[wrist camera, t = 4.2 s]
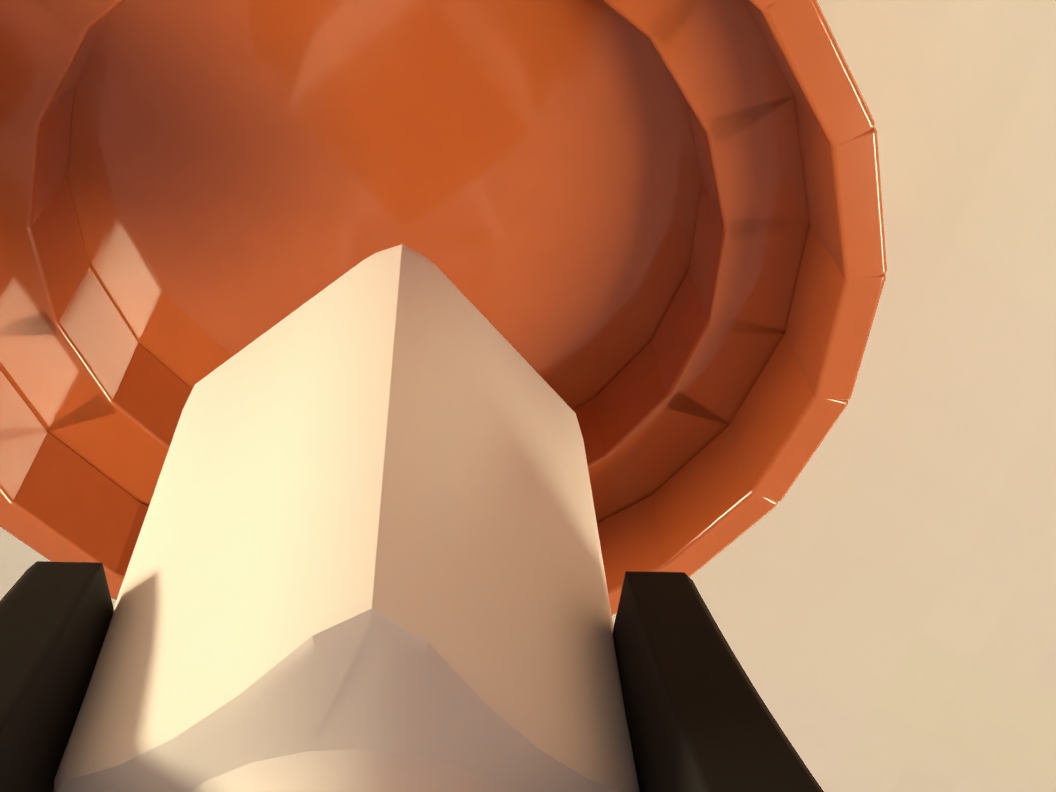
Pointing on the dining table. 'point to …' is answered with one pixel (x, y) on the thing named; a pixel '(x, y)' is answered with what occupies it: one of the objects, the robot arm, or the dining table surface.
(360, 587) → the salt shaker
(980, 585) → the dining table surface
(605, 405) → the bowl
